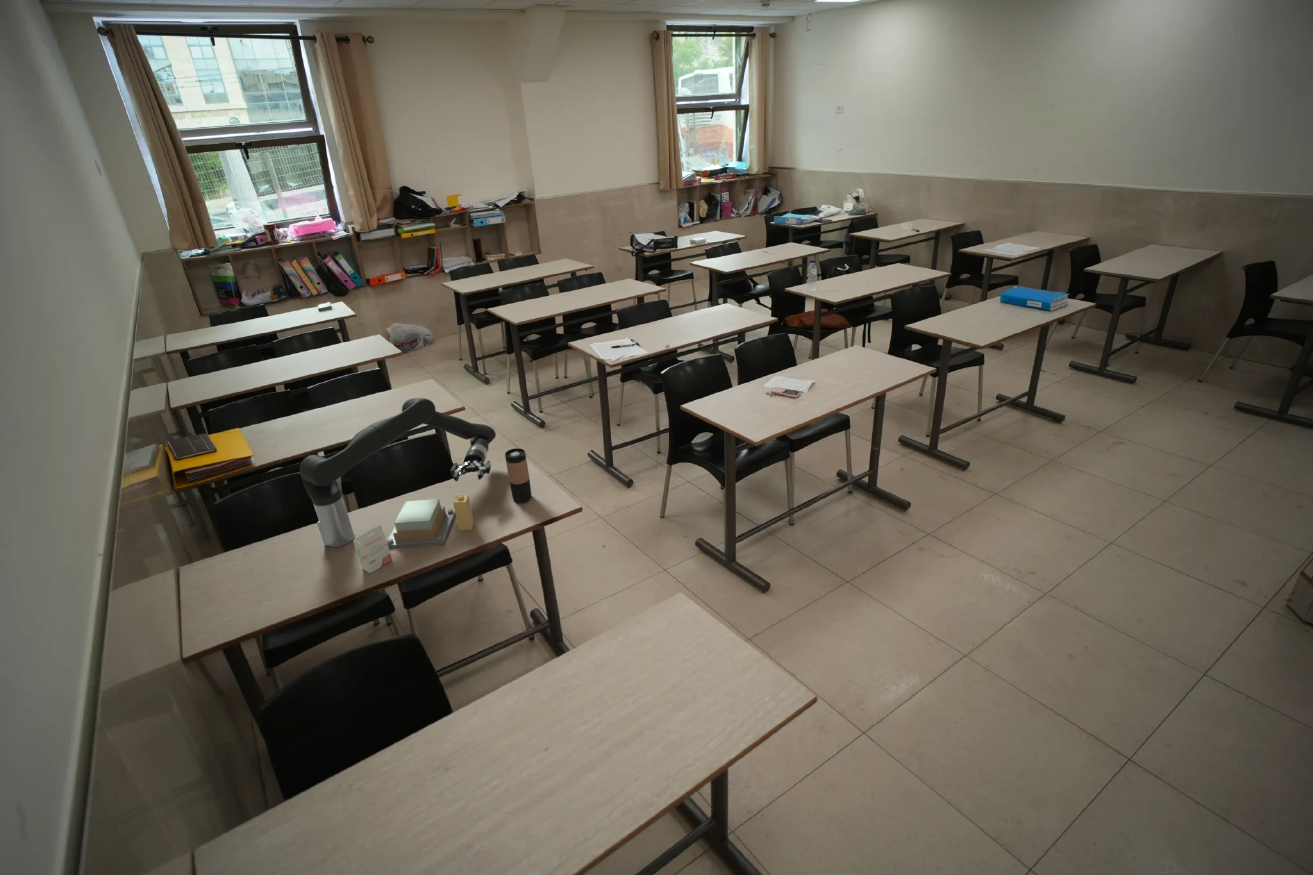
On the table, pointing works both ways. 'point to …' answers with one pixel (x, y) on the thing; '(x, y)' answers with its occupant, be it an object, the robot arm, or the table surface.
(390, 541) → the layered square stand
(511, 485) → the travel mug
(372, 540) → the ink cartridge box
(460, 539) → the table surface
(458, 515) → the ochre brick
